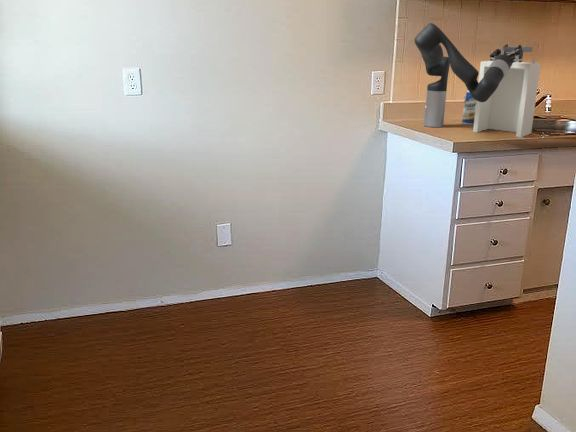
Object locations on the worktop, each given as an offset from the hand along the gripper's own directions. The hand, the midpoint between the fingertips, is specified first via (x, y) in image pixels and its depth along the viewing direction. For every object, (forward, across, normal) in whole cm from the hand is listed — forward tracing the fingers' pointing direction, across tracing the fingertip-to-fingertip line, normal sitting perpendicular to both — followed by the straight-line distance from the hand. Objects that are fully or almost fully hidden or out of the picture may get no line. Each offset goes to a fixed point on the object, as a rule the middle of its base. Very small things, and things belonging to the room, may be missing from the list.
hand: (513, 46), depth 269 cm
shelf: (-9, -4, -40) cm, 41 cm away
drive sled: (+5, 0, -5) cm, 7 cm away
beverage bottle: (+4, -26, -48) cm, 55 cm away
